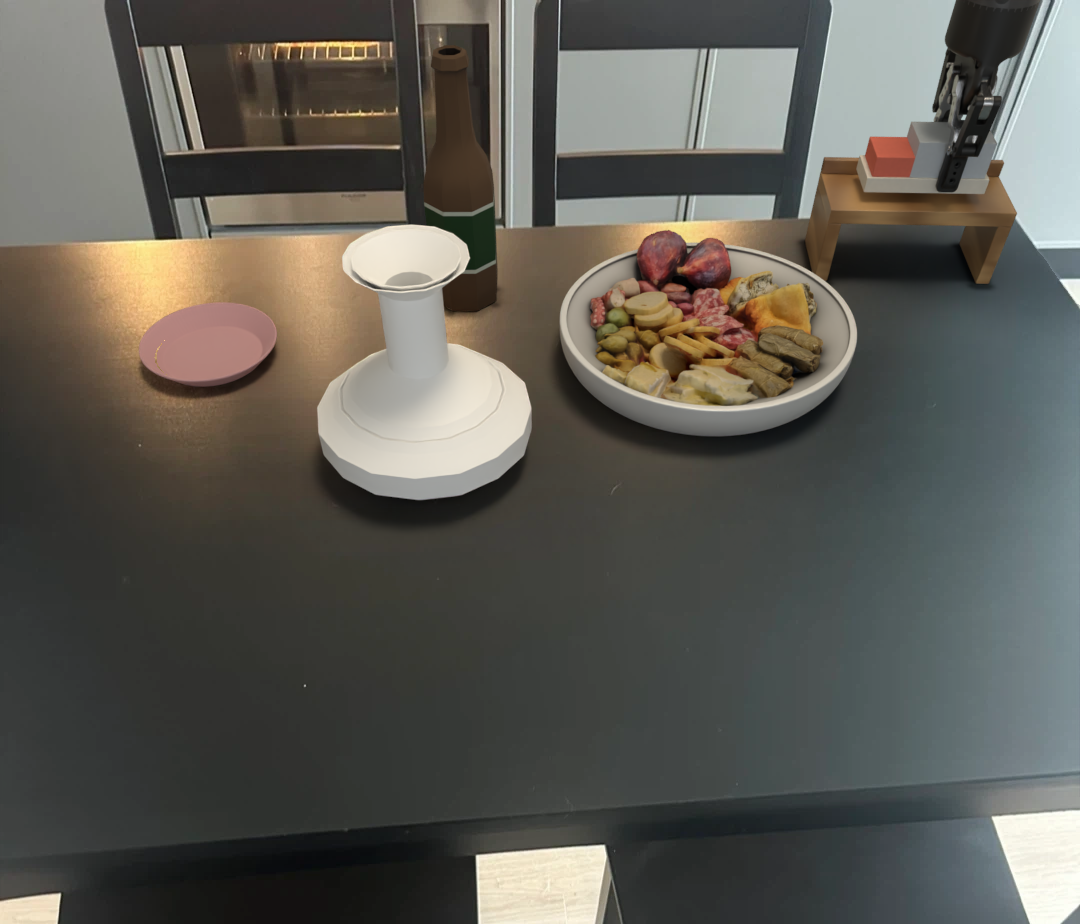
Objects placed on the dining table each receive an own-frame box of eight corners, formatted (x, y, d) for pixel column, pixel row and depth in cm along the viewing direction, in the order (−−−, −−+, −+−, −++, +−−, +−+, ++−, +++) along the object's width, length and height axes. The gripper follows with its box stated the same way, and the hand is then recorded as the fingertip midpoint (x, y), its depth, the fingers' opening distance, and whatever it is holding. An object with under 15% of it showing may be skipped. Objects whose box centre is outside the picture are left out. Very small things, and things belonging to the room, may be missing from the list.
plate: (298, 374, 98) (293, 357, 96) (162, 412, 94) (155, 395, 93) (259, 306, 105) (255, 289, 104) (132, 339, 102) (125, 322, 100)
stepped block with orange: (973, 170, 104) (990, 121, 100) (984, 194, 101) (1002, 144, 97) (856, 169, 105) (868, 119, 101) (863, 192, 101) (876, 142, 97)
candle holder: (357, 548, 83) (314, 353, 67) (304, 418, 94) (255, 223, 78) (564, 491, 87) (569, 295, 71) (490, 372, 98) (480, 179, 82)
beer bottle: (420, 305, 105) (392, 59, 86) (450, 271, 109) (430, 29, 90) (483, 319, 104) (469, 72, 84) (511, 284, 108) (504, 41, 88)
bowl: (900, 414, 94) (927, 343, 87) (625, 483, 88) (631, 412, 81) (760, 264, 110) (773, 195, 103) (520, 315, 104) (518, 245, 98)
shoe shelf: (971, 243, 113) (1003, 159, 105) (988, 284, 107) (1023, 198, 100) (804, 240, 113) (823, 156, 105) (813, 280, 108) (834, 195, 100)
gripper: (1061, 19, 84) (989, 211, 98) (1021, -36, 93) (960, 148, 106) (977, 18, 85) (917, 209, 98) (945, -37, 93) (893, 147, 107)
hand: (939, 176), depth 102 cm, fingers closed on stepped block with orange, 5 cm apart
